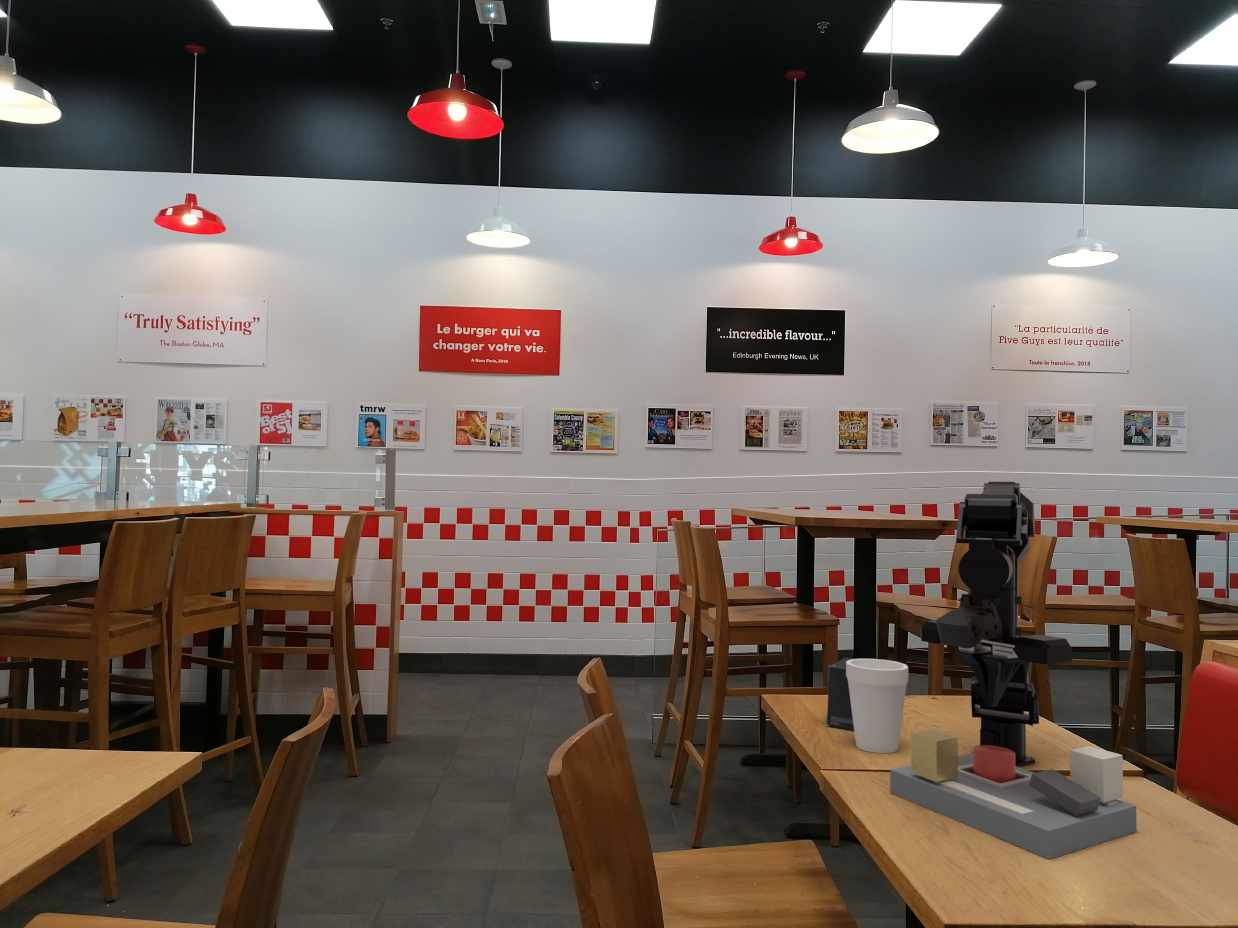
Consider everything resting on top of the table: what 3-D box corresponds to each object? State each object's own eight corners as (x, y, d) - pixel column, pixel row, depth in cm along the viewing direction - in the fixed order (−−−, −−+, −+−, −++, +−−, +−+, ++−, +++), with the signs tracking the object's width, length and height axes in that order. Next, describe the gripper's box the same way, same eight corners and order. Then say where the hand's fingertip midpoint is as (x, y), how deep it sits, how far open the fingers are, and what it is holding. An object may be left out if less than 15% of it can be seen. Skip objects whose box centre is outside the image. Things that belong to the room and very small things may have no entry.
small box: (863, 733, 132) (864, 670, 133) (825, 726, 136) (826, 665, 136) (879, 719, 141) (879, 660, 142) (843, 713, 145) (843, 656, 145)
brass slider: (932, 767, 104) (932, 729, 104) (957, 777, 101) (957, 737, 101) (910, 771, 102) (911, 732, 102) (936, 781, 99) (936, 741, 99)
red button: (989, 785, 106) (989, 743, 107) (1024, 798, 102) (1023, 753, 102) (965, 791, 104) (965, 747, 104) (999, 804, 100) (999, 758, 100)
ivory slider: (1089, 786, 98) (1089, 745, 98) (1123, 796, 95) (1122, 754, 95) (1070, 791, 96) (1070, 749, 97) (1103, 802, 93) (1103, 759, 93)
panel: (974, 774, 112) (974, 750, 113) (1136, 831, 93) (1136, 802, 93) (890, 792, 104) (890, 767, 105) (1048, 859, 85) (1048, 828, 85)
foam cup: (912, 758, 119) (912, 671, 120) (849, 753, 121) (849, 668, 122) (902, 740, 128) (902, 660, 129) (844, 736, 130) (844, 657, 131)
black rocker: (1049, 780, 96) (1052, 768, 96) (1097, 809, 91) (1100, 797, 91) (1028, 785, 94) (1032, 773, 94) (1076, 815, 89) (1080, 803, 89)
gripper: (893, 582, 109) (893, 696, 108) (1017, 597, 93) (1018, 731, 92) (947, 580, 114) (947, 689, 113) (1074, 594, 98) (1075, 721, 97)
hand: (991, 706), depth 104 cm, fingers closed
